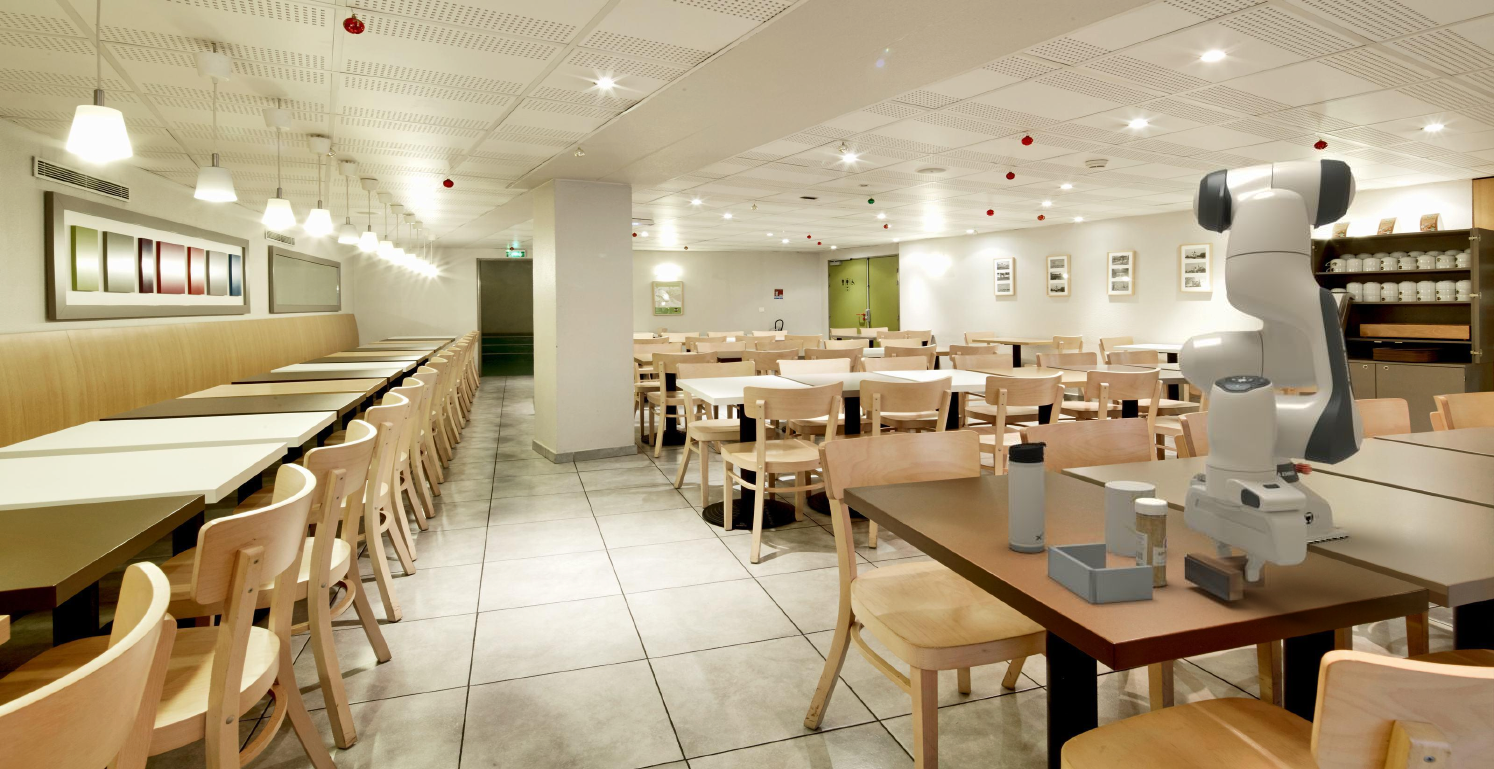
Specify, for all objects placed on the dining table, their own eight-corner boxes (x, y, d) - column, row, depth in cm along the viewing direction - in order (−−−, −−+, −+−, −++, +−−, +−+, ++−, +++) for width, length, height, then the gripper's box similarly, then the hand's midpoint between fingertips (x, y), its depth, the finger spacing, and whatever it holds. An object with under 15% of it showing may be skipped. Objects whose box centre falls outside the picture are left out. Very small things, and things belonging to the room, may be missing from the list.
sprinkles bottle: (1169, 588, 115) (1169, 504, 114) (1136, 585, 117) (1136, 502, 116) (1164, 579, 120) (1165, 497, 119) (1132, 576, 121) (1133, 496, 120)
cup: (1135, 559, 129) (1136, 492, 128) (1095, 548, 137) (1095, 484, 136) (1164, 551, 133) (1165, 486, 132) (1123, 541, 140) (1123, 478, 139)
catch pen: (1103, 571, 124) (1103, 542, 124) (1152, 598, 112) (1153, 566, 111) (1047, 575, 123) (1047, 546, 123) (1091, 603, 111) (1091, 571, 110)
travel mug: (1049, 553, 134) (1049, 445, 133) (1011, 552, 136) (1010, 445, 134) (1043, 543, 140) (1042, 439, 139) (1006, 542, 142) (1005, 439, 140)
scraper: (1234, 572, 117) (1234, 548, 116) (1280, 594, 108) (1280, 567, 107) (1184, 578, 116) (1184, 554, 116) (1227, 600, 107) (1227, 573, 107)
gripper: (1173, 471, 120) (1172, 554, 122) (1274, 503, 100) (1272, 601, 102) (1209, 469, 121) (1208, 551, 122) (1317, 500, 101) (1314, 597, 102)
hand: (1238, 574), depth 112 cm, fingers closed on scraper, 3 cm apart
